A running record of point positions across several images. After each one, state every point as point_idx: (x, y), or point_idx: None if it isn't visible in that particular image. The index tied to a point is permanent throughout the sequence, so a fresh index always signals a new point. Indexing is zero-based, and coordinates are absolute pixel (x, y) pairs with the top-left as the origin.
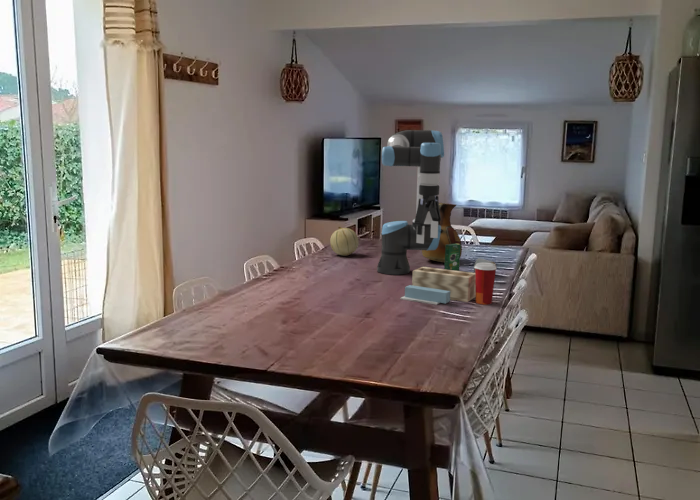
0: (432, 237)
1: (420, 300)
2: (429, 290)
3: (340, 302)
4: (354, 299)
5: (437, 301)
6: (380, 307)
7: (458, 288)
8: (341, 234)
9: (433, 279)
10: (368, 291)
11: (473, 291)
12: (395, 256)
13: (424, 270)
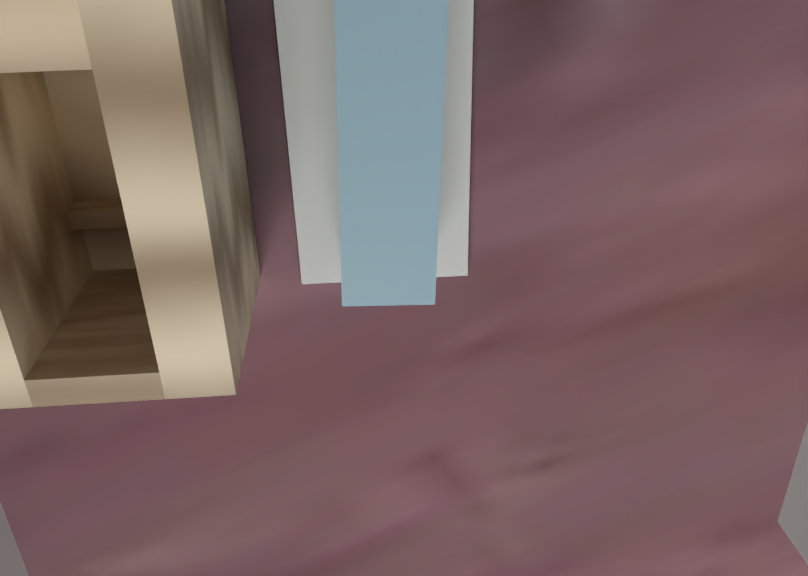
0: (17, 552)
1: (463, 109)
2: (439, 62)
3: (727, 502)
4: (623, 482)
5: None
6: (752, 275)
7: None
8: None
9: (210, 140)
10: (385, 516)
11: None
12: None
13: (26, 347)
